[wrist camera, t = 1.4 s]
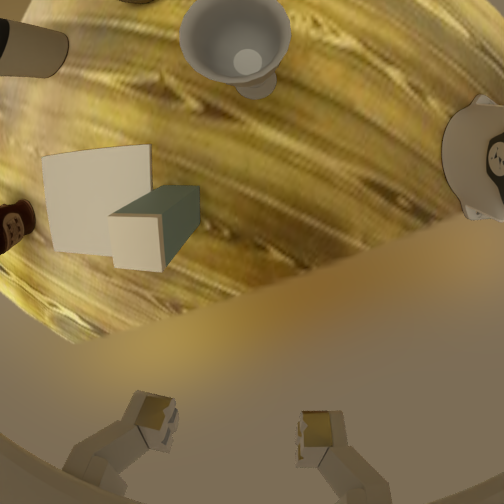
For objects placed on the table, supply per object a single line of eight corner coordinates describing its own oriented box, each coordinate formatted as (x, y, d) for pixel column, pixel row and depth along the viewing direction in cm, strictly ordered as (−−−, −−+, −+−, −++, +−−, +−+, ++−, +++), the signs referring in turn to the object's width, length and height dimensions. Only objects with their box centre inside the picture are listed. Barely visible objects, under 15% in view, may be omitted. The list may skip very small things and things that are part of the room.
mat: (151, 144, 34) (149, 144, 33) (157, 258, 40) (156, 260, 40) (44, 156, 35) (41, 157, 35) (56, 249, 42) (54, 251, 41)
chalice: (289, 102, 31) (303, 72, 14) (233, 113, 32) (190, 96, 15) (277, 48, 28) (276, -23, 12) (221, 59, 29) (171, 2, 13)
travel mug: (59, 24, 26) (-22, 5, 10) (76, 49, 28) (-13, 32, 12) (30, 60, 28) (-51, 57, 12) (45, 87, 31) (-44, 89, 14)
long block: (199, 185, 36) (157, 217, 23) (200, 223, 38) (162, 272, 25) (162, 185, 36) (107, 216, 23) (164, 221, 38) (114, 267, 25)
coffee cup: (42, 200, 38) (-13, 227, 26) (40, 244, 42) (-8, 277, 30) (13, 188, 38) (-39, 210, 26) (12, 229, 41) (-34, 257, 29)
